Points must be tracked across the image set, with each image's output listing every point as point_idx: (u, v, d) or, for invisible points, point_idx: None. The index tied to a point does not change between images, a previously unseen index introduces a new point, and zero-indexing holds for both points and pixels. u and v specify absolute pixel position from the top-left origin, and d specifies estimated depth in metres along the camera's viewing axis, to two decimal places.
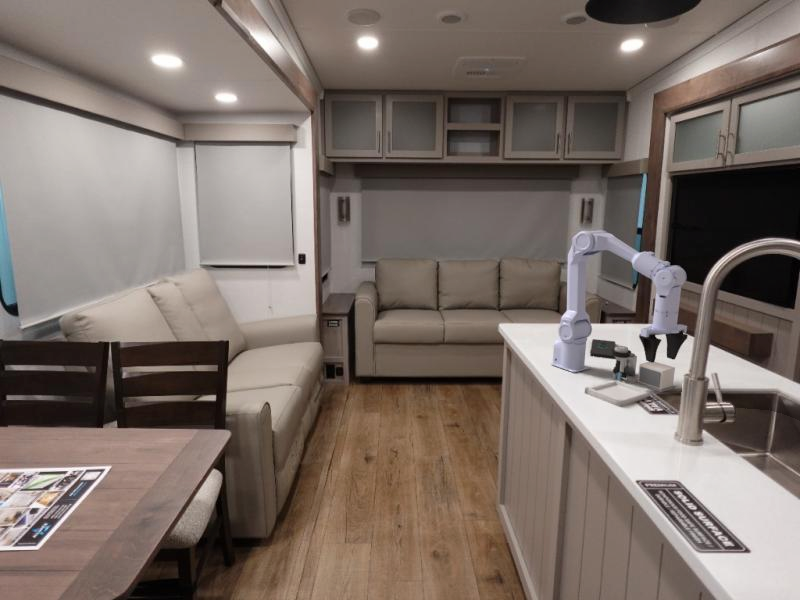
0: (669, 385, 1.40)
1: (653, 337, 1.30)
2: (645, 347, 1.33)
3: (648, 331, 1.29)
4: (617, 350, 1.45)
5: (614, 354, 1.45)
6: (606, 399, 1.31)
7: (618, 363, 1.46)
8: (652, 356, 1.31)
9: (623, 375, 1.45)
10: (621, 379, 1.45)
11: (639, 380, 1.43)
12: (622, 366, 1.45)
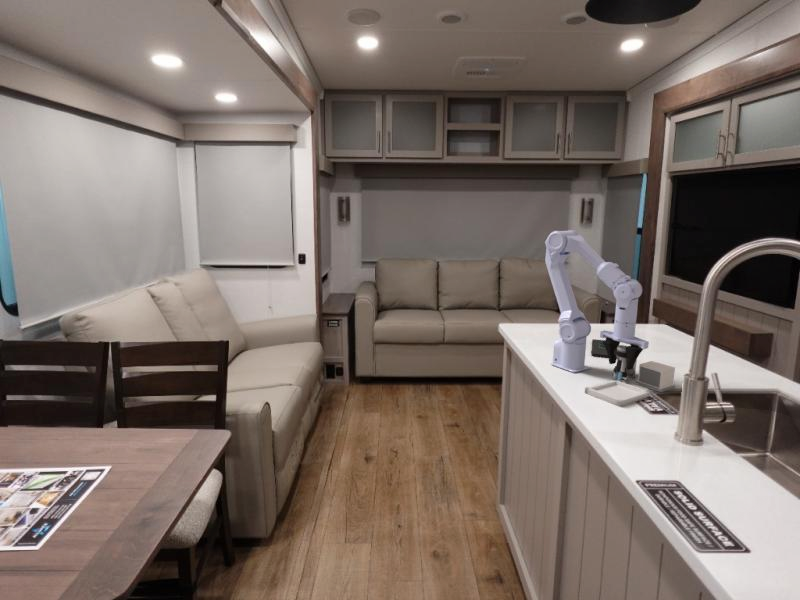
0: (669, 385, 1.40)
1: (609, 340, 1.47)
2: None
3: (601, 332, 1.49)
4: (619, 350, 1.44)
5: (616, 353, 1.45)
6: (606, 399, 1.31)
7: (619, 363, 1.46)
8: None
9: (624, 375, 1.45)
10: (621, 379, 1.45)
11: (639, 380, 1.43)
12: (623, 366, 1.45)
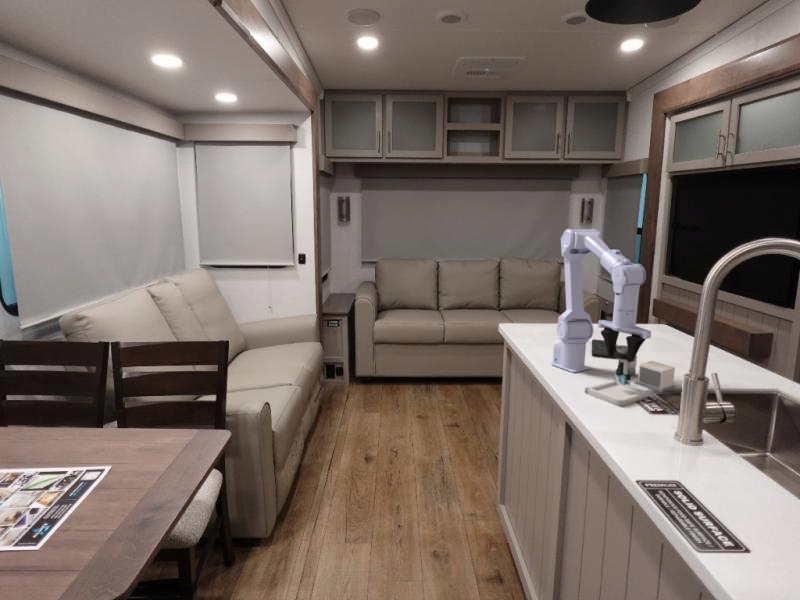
0: (669, 385, 1.40)
1: (607, 330, 1.35)
2: None
3: (599, 322, 1.37)
4: (620, 351, 1.33)
5: (617, 356, 1.33)
6: (606, 399, 1.31)
7: (621, 365, 1.34)
8: None
9: (627, 377, 1.33)
10: (625, 382, 1.34)
11: (639, 380, 1.43)
12: (626, 368, 1.33)
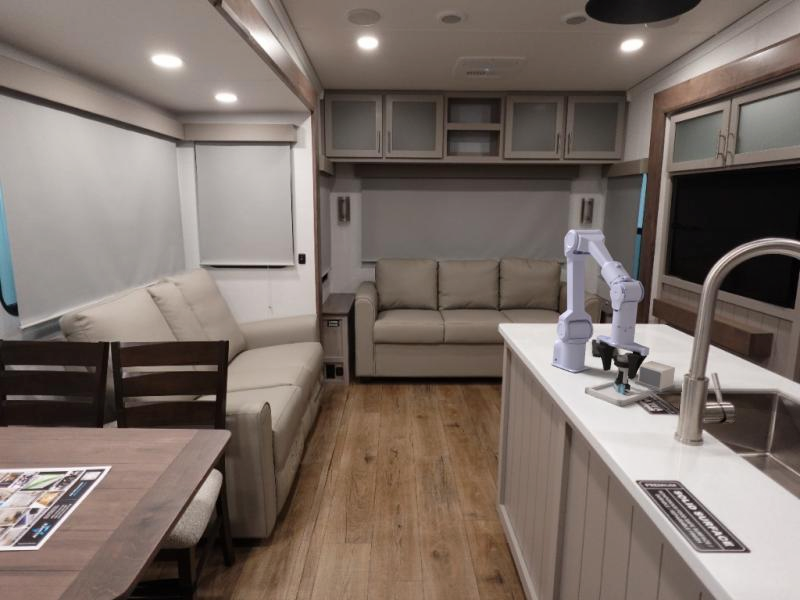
0: (669, 385, 1.40)
1: (603, 345, 1.36)
2: None
3: (598, 337, 1.38)
4: (620, 360, 1.34)
5: (617, 364, 1.34)
6: (606, 399, 1.31)
7: (621, 374, 1.35)
8: None
9: (627, 387, 1.34)
10: (624, 391, 1.34)
11: (639, 380, 1.43)
12: (625, 377, 1.34)
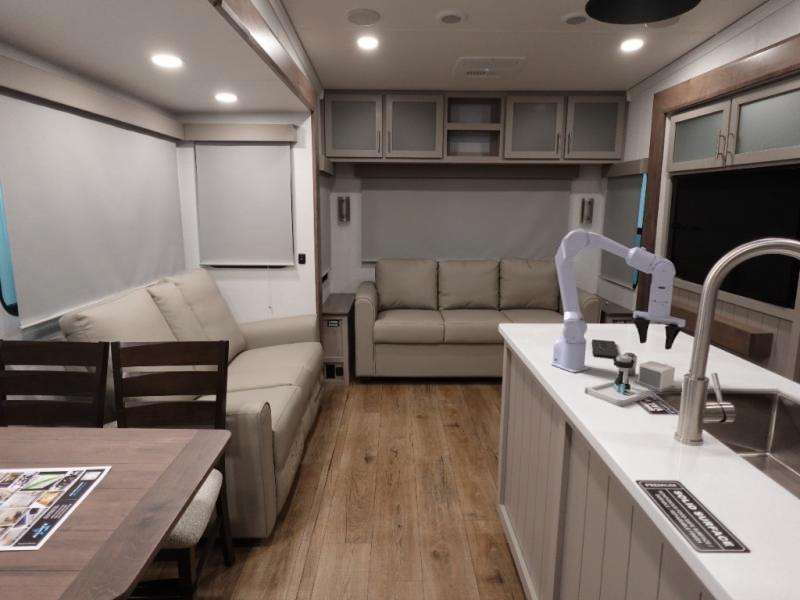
0: (669, 385, 1.40)
1: (640, 319, 1.48)
2: None
3: (634, 312, 1.49)
4: (620, 360, 1.34)
5: (617, 364, 1.34)
6: (606, 399, 1.31)
7: (621, 374, 1.35)
8: None
9: (627, 387, 1.34)
10: (624, 391, 1.34)
11: (639, 380, 1.43)
12: (625, 377, 1.34)
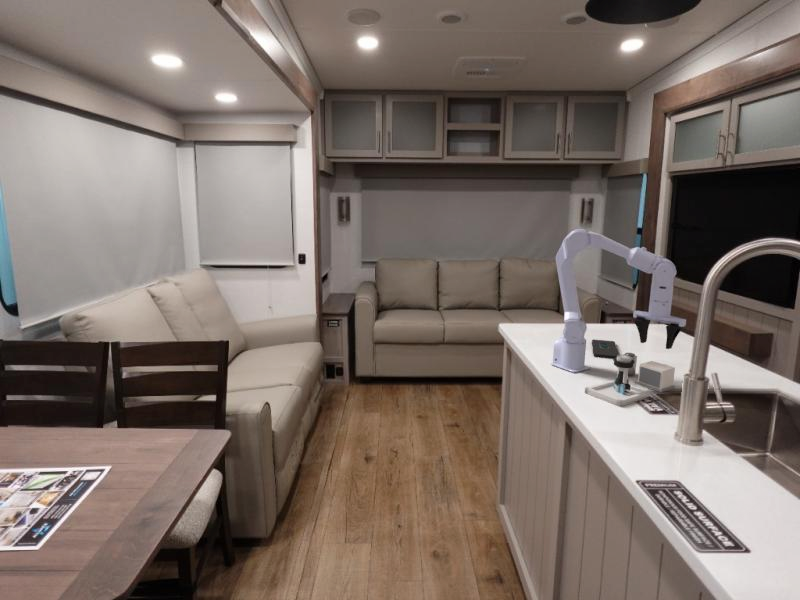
0: (669, 385, 1.40)
1: (640, 319, 1.48)
2: None
3: (635, 312, 1.50)
4: (620, 360, 1.34)
5: (617, 364, 1.34)
6: (606, 399, 1.31)
7: (621, 374, 1.35)
8: None
9: (627, 387, 1.34)
10: (624, 391, 1.34)
11: (639, 380, 1.43)
12: (625, 377, 1.34)
